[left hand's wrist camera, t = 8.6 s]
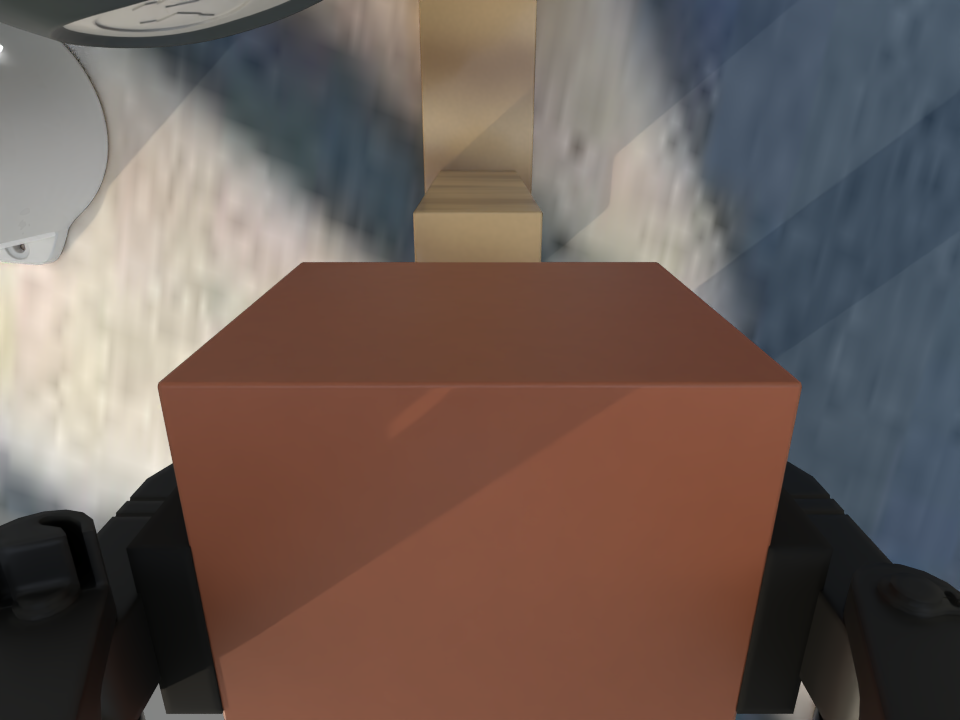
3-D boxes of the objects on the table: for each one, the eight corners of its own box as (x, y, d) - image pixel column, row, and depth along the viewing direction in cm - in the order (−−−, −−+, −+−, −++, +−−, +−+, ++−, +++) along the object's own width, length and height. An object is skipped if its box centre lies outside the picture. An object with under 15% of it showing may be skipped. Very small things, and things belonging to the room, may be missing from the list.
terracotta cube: (628, 555, 15) (716, 819, 9) (331, 555, 15) (242, 819, 9) (658, 261, 12) (804, 383, 7) (301, 261, 12) (153, 383, 7)
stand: (526, 276, 46) (559, 389, 27) (429, 276, 46) (396, 389, 27) (538, -170, 36) (602, -464, 18) (416, -170, 36) (351, -465, 18)
